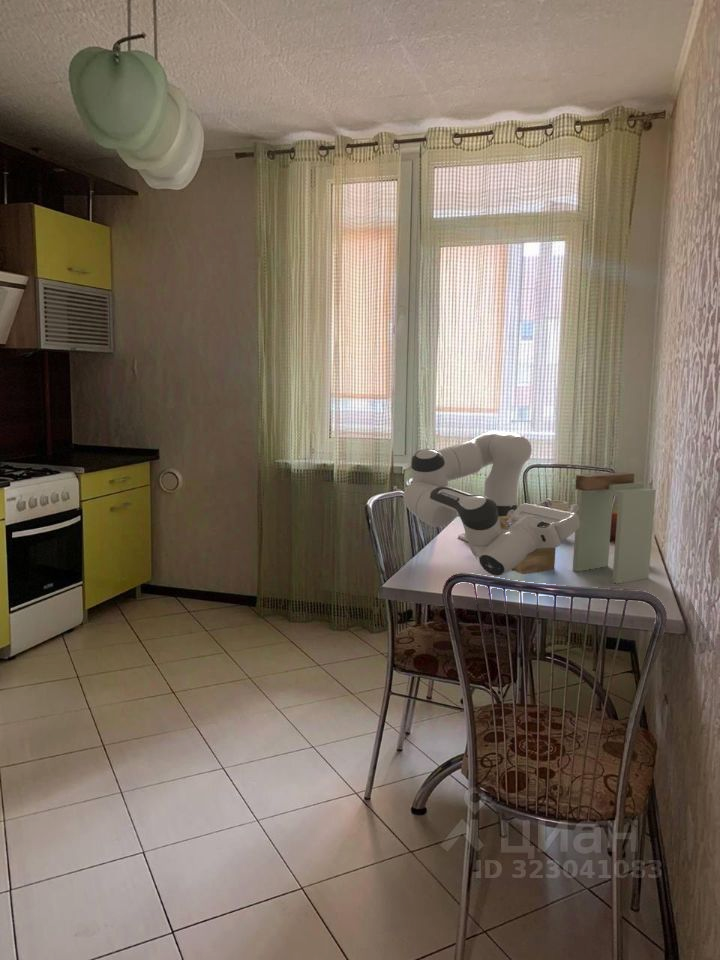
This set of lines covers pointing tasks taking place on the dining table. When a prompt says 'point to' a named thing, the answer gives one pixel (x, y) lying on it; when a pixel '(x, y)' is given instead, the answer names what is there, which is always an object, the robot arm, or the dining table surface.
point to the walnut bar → (602, 480)
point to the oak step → (533, 556)
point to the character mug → (559, 505)
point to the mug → (613, 525)
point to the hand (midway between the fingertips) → (562, 503)
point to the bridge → (629, 530)
